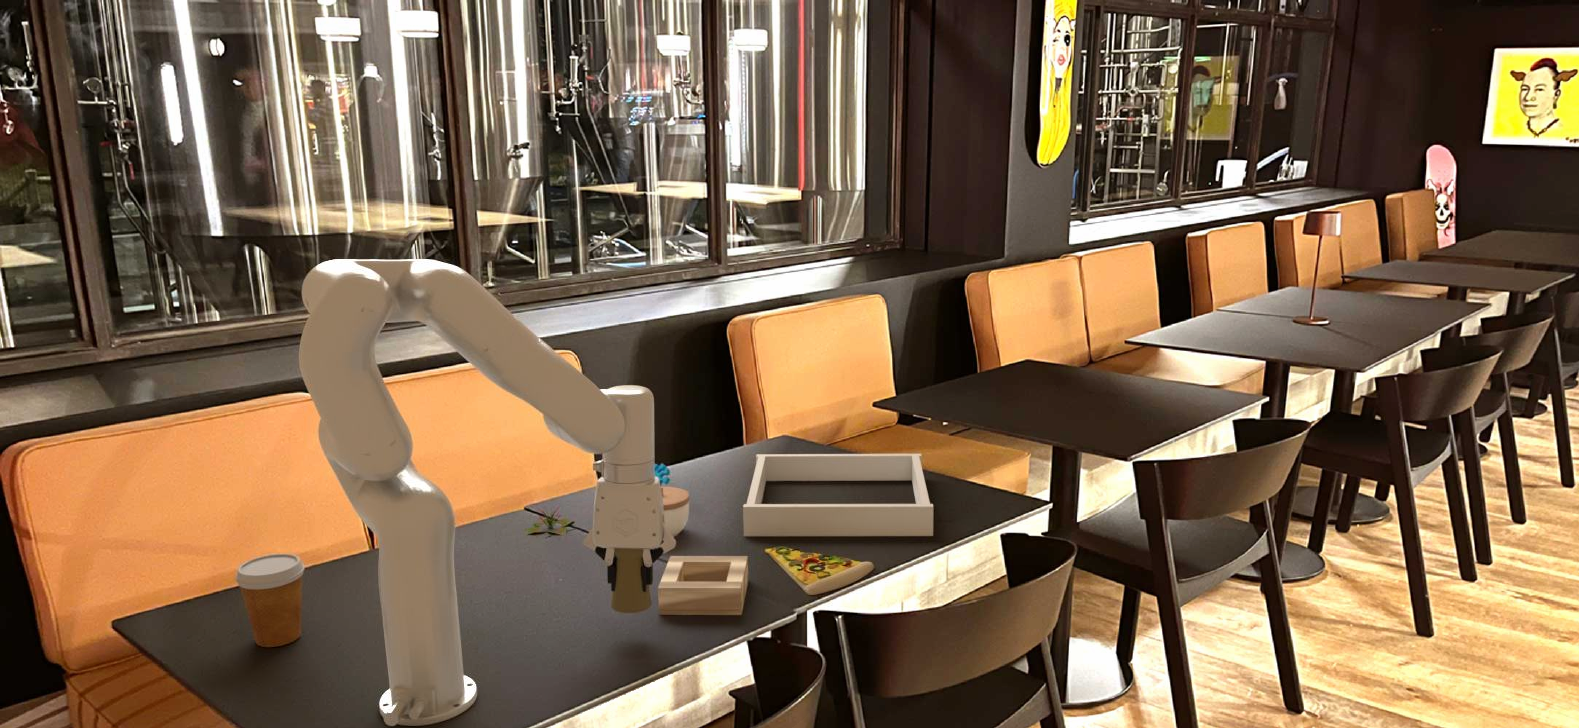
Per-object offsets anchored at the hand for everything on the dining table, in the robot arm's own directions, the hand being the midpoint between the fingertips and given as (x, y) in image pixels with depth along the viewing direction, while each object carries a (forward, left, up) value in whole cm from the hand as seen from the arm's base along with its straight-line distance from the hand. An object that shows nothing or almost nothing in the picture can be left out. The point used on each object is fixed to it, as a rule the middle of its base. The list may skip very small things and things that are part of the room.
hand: (630, 587), depth 165 cm
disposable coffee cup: (-1, +54, -8) cm, 55 cm away
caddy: (+14, -9, -8) cm, 18 cm away
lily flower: (+45, +24, -8) cm, 52 cm away
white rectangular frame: (+57, -31, -8) cm, 65 cm away
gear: (+57, +9, -9) cm, 59 cm away
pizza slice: (+26, -25, -9) cm, 37 cm away
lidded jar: (+42, +2, -8) cm, 42 cm away
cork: (0, 0, -3) cm, 3 cm away
